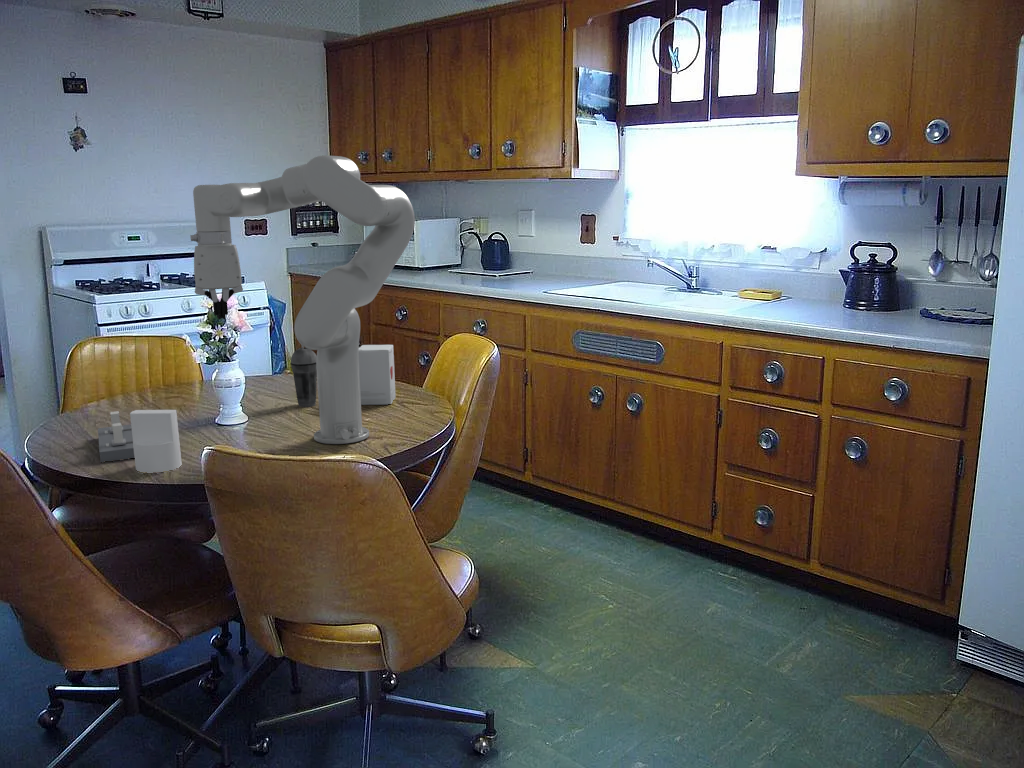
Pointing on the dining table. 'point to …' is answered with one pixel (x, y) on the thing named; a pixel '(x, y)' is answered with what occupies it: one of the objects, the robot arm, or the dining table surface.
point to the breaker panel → (116, 451)
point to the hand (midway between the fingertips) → (221, 318)
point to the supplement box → (376, 374)
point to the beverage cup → (305, 376)
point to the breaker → (118, 435)
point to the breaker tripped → (115, 419)
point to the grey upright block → (155, 440)
